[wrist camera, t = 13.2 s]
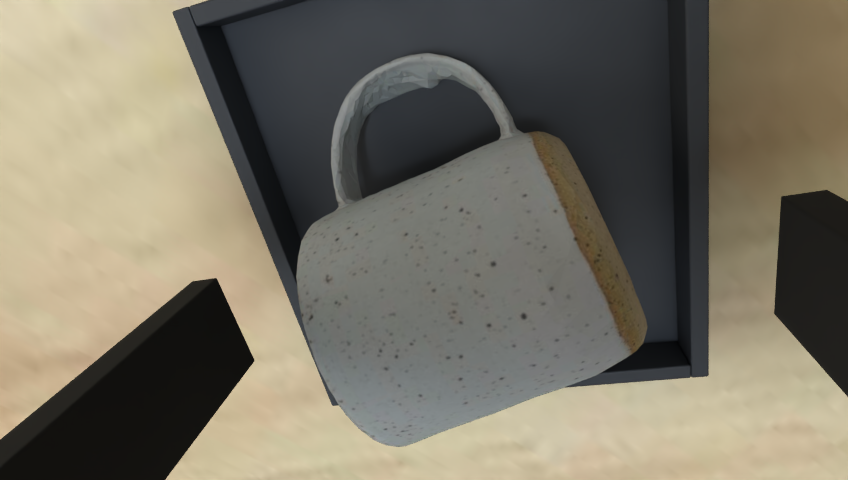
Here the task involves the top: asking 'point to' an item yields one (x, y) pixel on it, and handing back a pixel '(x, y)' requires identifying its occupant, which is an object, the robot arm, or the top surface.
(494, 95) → the ceramic mug
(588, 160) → the tray
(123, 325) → the top surface
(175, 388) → the robot arm
